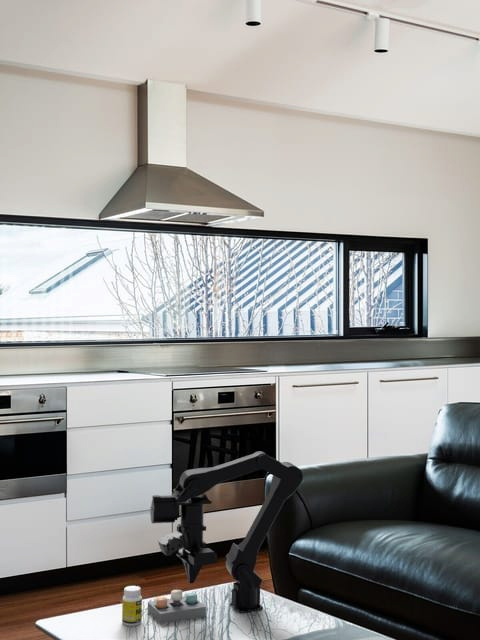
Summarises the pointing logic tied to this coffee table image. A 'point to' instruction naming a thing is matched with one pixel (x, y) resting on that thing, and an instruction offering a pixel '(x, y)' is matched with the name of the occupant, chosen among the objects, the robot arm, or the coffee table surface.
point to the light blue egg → (191, 598)
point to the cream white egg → (176, 597)
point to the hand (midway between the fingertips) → (191, 583)
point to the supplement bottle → (132, 606)
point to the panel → (176, 611)
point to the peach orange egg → (161, 602)
